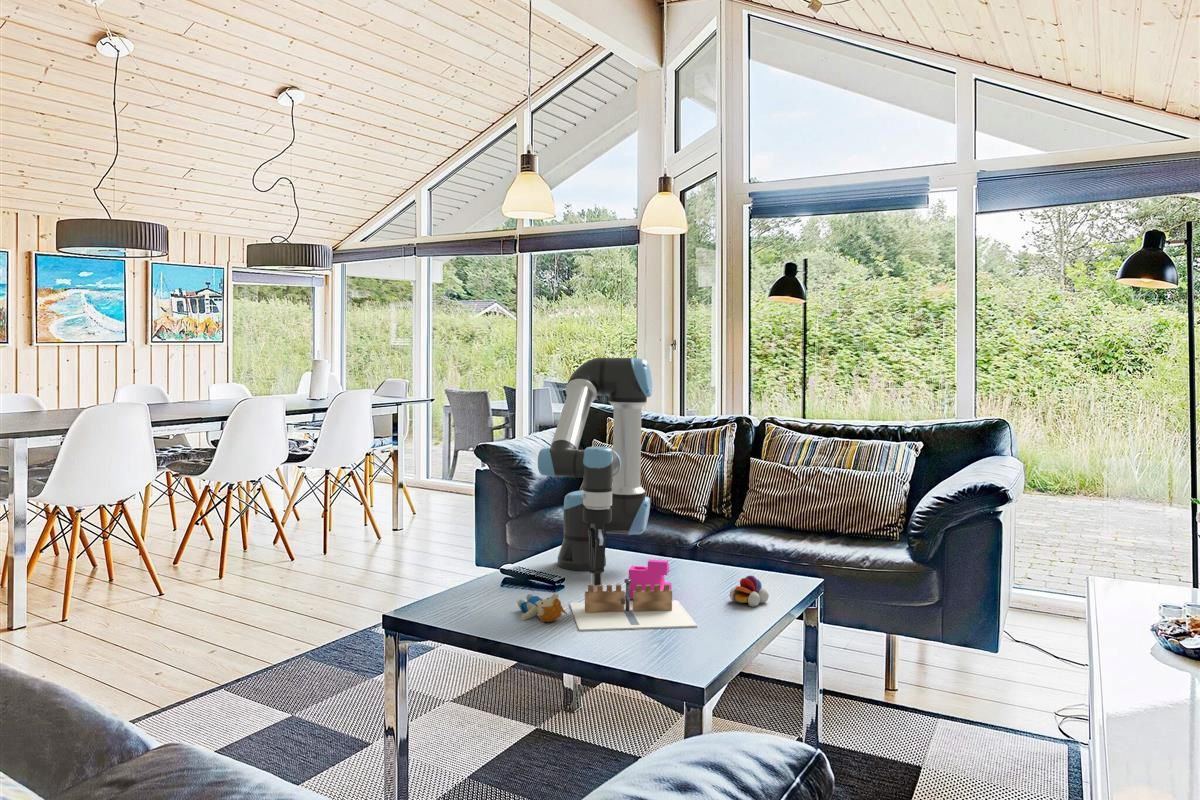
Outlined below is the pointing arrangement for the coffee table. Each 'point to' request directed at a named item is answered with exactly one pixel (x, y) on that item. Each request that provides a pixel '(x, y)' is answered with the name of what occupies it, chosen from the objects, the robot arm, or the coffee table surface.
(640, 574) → the bracket
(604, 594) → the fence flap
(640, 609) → the fence fixed
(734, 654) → the coffee table surface
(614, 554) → the coffee table surface
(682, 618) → the card
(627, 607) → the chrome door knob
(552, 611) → the toy
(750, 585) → the rainbow petal cluster
